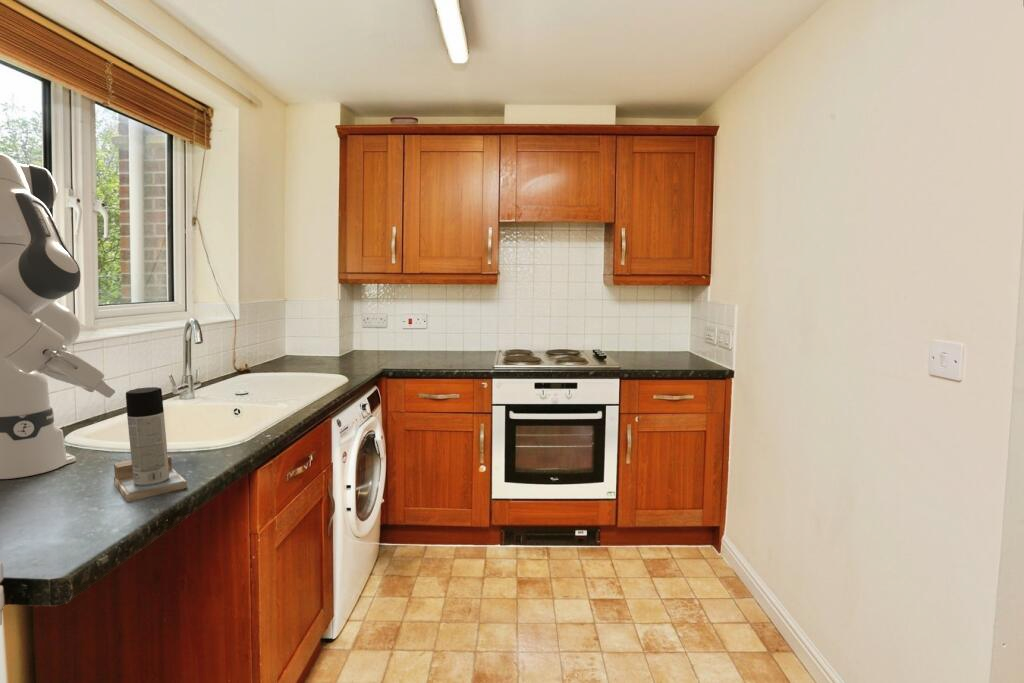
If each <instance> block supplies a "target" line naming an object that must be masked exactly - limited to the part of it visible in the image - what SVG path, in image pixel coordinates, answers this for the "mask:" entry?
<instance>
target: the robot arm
mask: <svg viewBox="0 0 1024 683" xmlns="http://www.w3.org/2000/svg"><path fill="white" fill-rule="evenodd" d="M57 196H58V186H57V184H56V181H55V179H54V178H53V176H52V173H51V172H50V171H49V170H48V169H47V168H45V167H42V166H39V165H36V164H35V165H34V164H30V163H29V164H28V165H27V164H22V163H19V162H18V163H17V161H16V160H14V159H13V158H11V157H10V156H8V155H6V154H4V153H1V152H0V480H9V479H17V478H24V477H29V476H34V475H35V476H36V475H39V474H44V473H47V472H50V471H54V470H56V469H59V468H60V467H63V466H65V465H67V464H71V463H75V462H76V461H77V458H76V456H75V455H72V454H70V453H68V452H66V451H67V450H66V444H65V437H64V432H63V430H62V429H61V428H59V427H58V426H56V425H55V424H54V423H55V412H54V410H53V408H52V407H51V404H50V393H49V385H48V379H47V378H46V377H47V376H48V377H50V378H51V379H55V380H57V381H61V382H64V383H66V384H70V385H73V386H77V387H79V388H81V389H83V390H85V391H86V392H89V393H93V392H95V391H96V392H97V393H99V394H100V395H102V396H103V397H105V398H111V397H113V395H115V393H116V390H115V389H113V388H112V387H110V386H109V385H108V384H107V383H106V382H105V381H104V380H103V379H104V378H105V374H104V373H103V372H102V371H101V370H99V369H97V368H96V367H95V366H94V365H91V364H90V363H89V362H87V361H85V360H84V359H82V358H80V357H79V356H77V355H75V354H74V353H71V352H69V351H68V347H71V346H72V345H73V344H75V342H76V341H77V339H78V338H79V335H80V331H81V326H80V322H79V319H78V317H77V316H76V314H75V313H74V312H73V311H72V310H70V309H69V308H67V307H65V306H63V305H61V304H60V303H58V302H57V300H58V299H61V298H62V297H65V296H66V295H68V294H70V293H72V292H74V291H76V290H77V289H78V288H79V287H80V284H81V268H80V266H79V264H78V262H77V261H76V259H75V258H74V256H73V255H72V253H70V251H69V249H68V248H67V245H66V244H65V241H64V239H63V237H62V235H61V232H60V230H59V227H58V225H57V223H56V222H55V219H54V216H53V215H52V212H50V209H51V208H52V207H53V206H54V203H55V201H56V199H57Z"/></svg>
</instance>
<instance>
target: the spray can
mask: <svg viewBox="0 0 1024 683" xmlns="http://www.w3.org/2000/svg"><path fill="white" fill-rule="evenodd" d="M125 402H126V415H127V416H126V417H127V425H128V426H127V427H128V435H129V436H128V437H129V438H128V439H129V445H130V447H129V449H130V457H131V458H130V460H132V471H133V481H134V484H135V485H137V486H147V485H154V484H159V483H161V482H164V481H166V480H168V478H169V466H168V455H169V454H168V444H167V433H166V422H165V411H164V410H165V408H164V402H163V390H162V388H161V387H157V386H151V387H149V386H147V387H138V388H135V389H131V390H127V391H126V392H125ZM167 454H168V455H167Z"/></svg>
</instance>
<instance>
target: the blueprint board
mask: <svg viewBox="0 0 1024 683" xmlns="http://www.w3.org/2000/svg"><path fill="white" fill-rule="evenodd" d="M167 455H168V466H169V478H168V480H166V481H164V482H161V483H159V484H154V485H147V486H137V485H135V484H134V481H133V471H132V460H131V459H130V460H125V461H119V462H114V463H113V468H114V469H113V470H114V476H113V484H114V486H115V487H116V488H117V490H118V491H119V492H120V494H121V495H122V496H123V498H124V499H125V501H126V502H132V501H136V500H141V499H145V498H150V497H155V496H159V495H163V494H167V493H170V492H176V491H179V490H185V489H188V484H187V482H188V481H187V480H186V479H185V478H184V477H183V476H181V474H180V473H178V472H177V471H176V470H175V469H174V468H173V463H172V456H171V455H169V454H168V453H167ZM184 488H185V489H184Z"/></svg>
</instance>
